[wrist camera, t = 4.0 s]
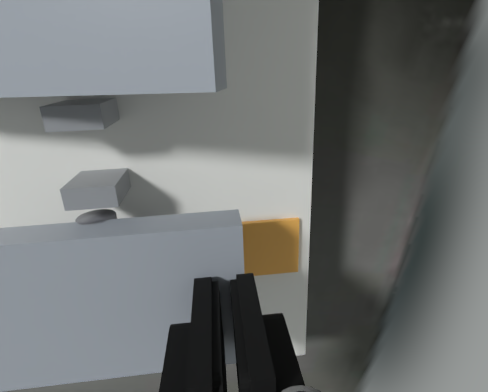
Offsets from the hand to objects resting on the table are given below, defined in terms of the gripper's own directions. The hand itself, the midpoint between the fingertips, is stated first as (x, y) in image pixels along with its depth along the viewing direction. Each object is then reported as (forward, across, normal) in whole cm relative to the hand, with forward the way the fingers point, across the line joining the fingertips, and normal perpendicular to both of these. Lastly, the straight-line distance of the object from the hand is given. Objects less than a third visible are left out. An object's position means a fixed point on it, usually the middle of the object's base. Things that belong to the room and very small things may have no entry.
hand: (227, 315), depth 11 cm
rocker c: (+2, +4, 0) cm, 4 cm away
